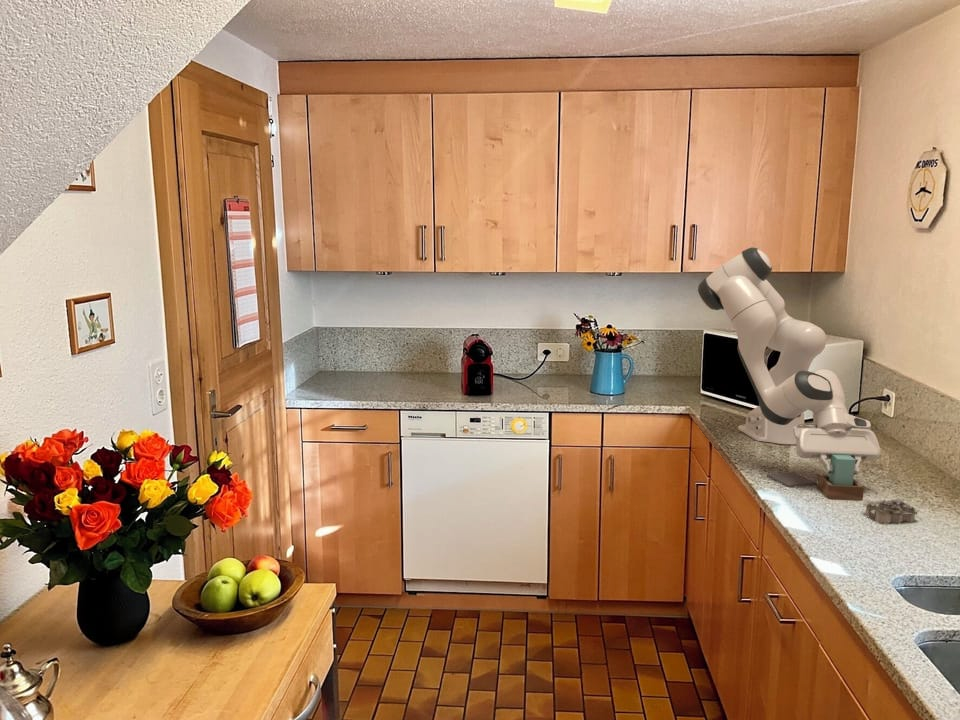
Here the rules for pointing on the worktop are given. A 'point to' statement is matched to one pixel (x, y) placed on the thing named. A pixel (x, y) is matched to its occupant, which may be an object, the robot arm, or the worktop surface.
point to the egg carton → (890, 511)
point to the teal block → (842, 470)
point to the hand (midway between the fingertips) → (842, 473)
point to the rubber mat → (791, 479)
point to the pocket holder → (840, 489)
